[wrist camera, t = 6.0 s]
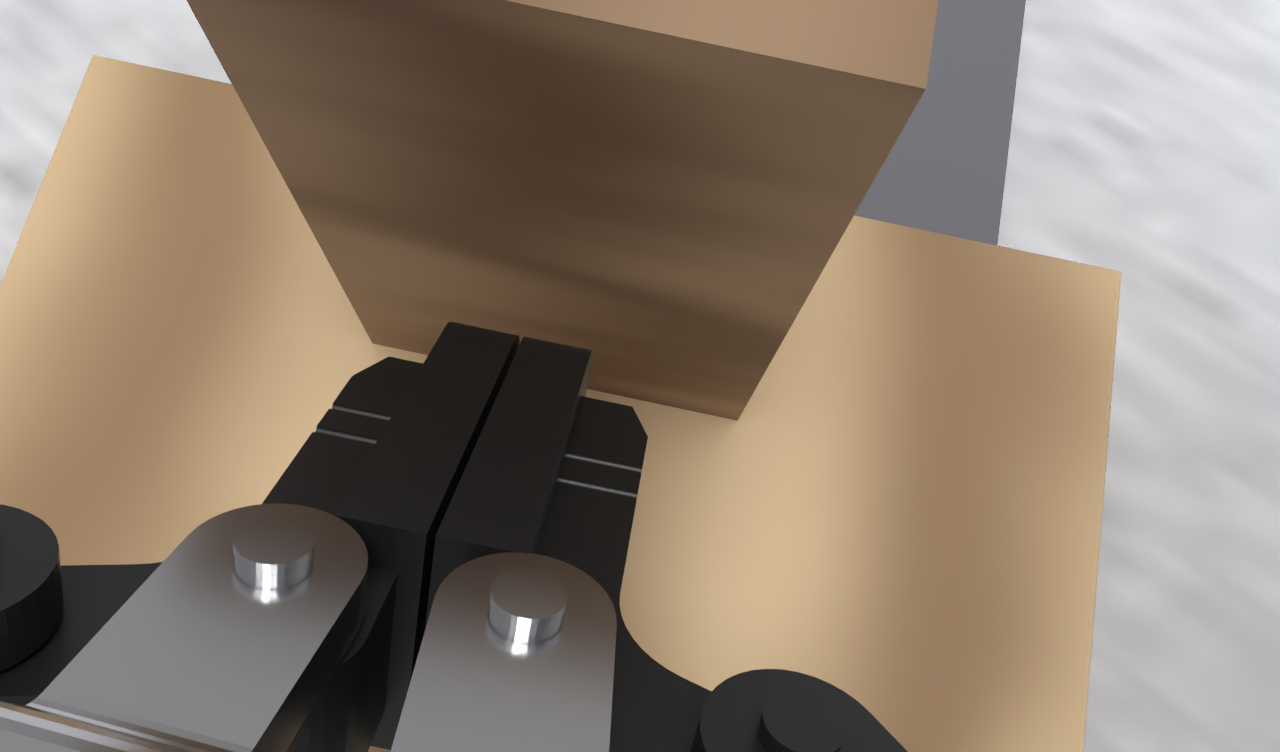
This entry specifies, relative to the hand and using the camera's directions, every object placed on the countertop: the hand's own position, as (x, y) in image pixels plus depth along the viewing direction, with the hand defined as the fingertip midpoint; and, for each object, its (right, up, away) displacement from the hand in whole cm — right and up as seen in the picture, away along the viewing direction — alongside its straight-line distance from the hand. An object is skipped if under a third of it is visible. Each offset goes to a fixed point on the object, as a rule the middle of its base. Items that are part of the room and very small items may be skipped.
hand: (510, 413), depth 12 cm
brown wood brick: (0, +2, +7) cm, 7 cm away
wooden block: (0, -2, +10) cm, 10 cm away
